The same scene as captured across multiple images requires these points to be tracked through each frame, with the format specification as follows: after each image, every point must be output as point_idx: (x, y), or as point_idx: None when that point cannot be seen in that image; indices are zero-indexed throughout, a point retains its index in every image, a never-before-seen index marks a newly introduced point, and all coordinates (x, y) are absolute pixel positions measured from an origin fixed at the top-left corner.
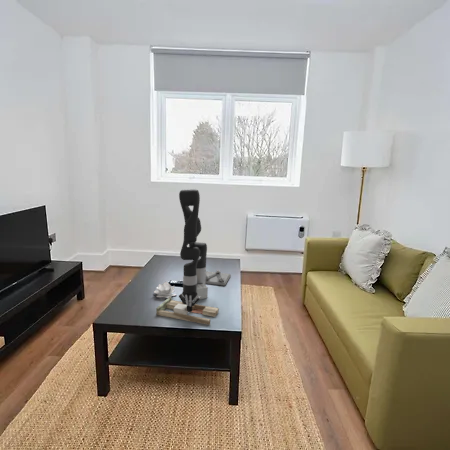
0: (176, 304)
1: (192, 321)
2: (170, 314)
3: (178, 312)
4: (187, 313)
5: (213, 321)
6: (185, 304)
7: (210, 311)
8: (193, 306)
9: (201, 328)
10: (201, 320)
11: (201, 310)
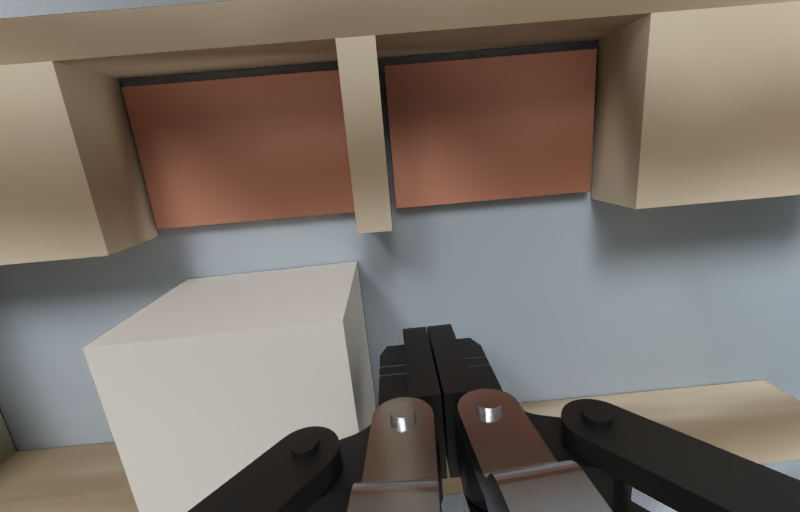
0: (18, 208)
1: None
2: None
3: None
4: (359, 281)
5: (797, 312)
6: (157, 59)
7: (793, 180)
8: (380, 107)
9: None
10: None
11: (532, 82)
